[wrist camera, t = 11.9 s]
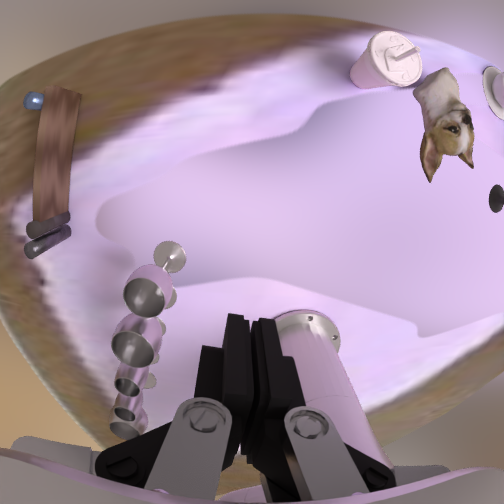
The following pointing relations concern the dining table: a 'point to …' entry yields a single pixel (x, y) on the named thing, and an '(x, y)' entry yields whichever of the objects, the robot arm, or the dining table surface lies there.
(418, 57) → the smoothie
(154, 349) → the goblet set
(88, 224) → the dining table surface
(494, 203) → the sundae
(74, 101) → the gate
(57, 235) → the grey upright cylinders
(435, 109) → the ceramic sculpture
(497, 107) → the teacup
